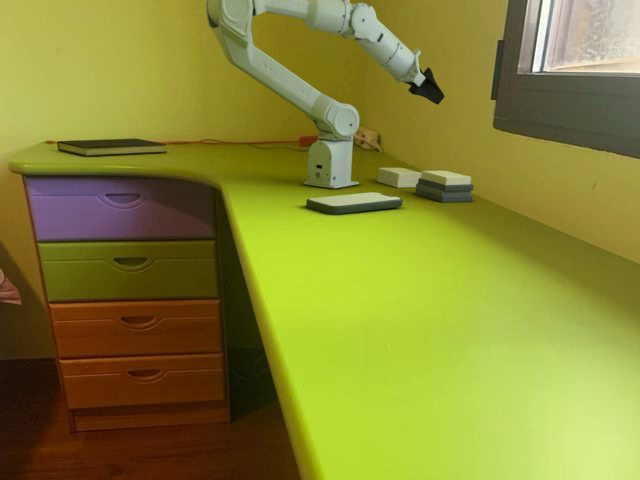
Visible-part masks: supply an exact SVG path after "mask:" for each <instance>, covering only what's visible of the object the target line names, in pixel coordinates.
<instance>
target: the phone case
mask: <svg viewBox="0 0 640 480" xmlns="http://www.w3.org/2000/svg"><path fill="white" fill-rule="evenodd" d="M403 201H404V200H403V198H401V197H397V196H394V195H389V194H385V193H380V192H374V191H373V192H362V193H360V192H359V193H351V194H342V195H340V194H339V195H333V196H332V195H331V196H321V197H312V198H308V199H306V201H305V206H306V208H308V209H312V210H315V211H317V212H318V211H319V212H321V213H325V214H328V215H341V214H351V213H359V212H367V211H375V210H385V209H396V208H402V206H403Z"/></svg>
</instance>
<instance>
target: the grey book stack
mask: <svg viewBox="0 0 640 480" xmlns="http://www.w3.org/2000/svg"><path fill="white" fill-rule="evenodd" d="M474 186H475V184H472V183H470V185H443V184H440V183H436V182H432V181H429V180H425V179H421V178H419V179H418V183H417V184H416V187H415V195H418V196H420V197H424V198H427V199H430V200H434V201H437V202H439V203H461V202H464V203H465V202H473V198H474V196H473V195H472V191H474Z"/></svg>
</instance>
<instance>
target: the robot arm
mask: <svg viewBox="0 0 640 480" xmlns="http://www.w3.org/2000/svg"><path fill="white" fill-rule="evenodd" d="M205 1H206V2H205V12H206V19H207V25H208V27H209V29H210V30H211V32H212V33H213V34H214V36H215V38H216V40H217V42H218V44H219V46H220V48H221V50H222V53H223V54H224V56H225V59H226V60H227V61H228V63H230V64H231V65H232V66H234V67H235V68H237V69H238V70H240V71H241V72H242V73H244V74H246V75H247V76H248V77H250V78H251V79H253V80H254V81H256V82H258V83H259V84H261V85H262V86H263V87H265V88H267V89H268V90H269V91H271V92H272V93H274V94H275V95H277V96H278V97H279V98H281V99H283V101H286V102H287V103H288V104H290V105H291V106H293V107H295V108H296V109H297V110H299V111H300V112H302V113H303V114H304V115H305V117H306V119H308V120H310V121H311V122H312V123H313V124H314V127H315V128H316V129H317V131H318V133H317V140H316V141H315V142H313V143H312V144H311V145H310V147H309V149H308V152H307V172H306V173H307V174H306V181H304V182H303V185H306V186H314V187H320V188H321V187H322V188H327V189H339V188H345V187H351V186H356V185H357V186H358V185H359V184H360V183H359V181H353V180H352V166H353V148H354V147H353V146H354V135H355V134H356V132H357V131H358V129H359V126H360V115H359V111H358V110H357V109H356V108H355V107H354V106H353V105H351V104H349V103H341V102H339V101H337V100H335V99H334V98H332V97H331V96H328V95H326V94H324V93H322V92H320V91H319V90H318V89H316V88H315V87H314V86H312V85H310V84H309V83H308V82H307V81H305V80H303V79H302V78H301V77H300V76H298V75H296V74H295V73H294V72H292V71H291V70H289V69H288V68H287V67H285V66H284V65H282V64H281V63H280V62H278V61H277V60H275V59H274V58H272V57H271V56H270V55H268V54H267V53H266V52H264V51H262V50H261V49H259V48H258V47H257V46H255V45H254V40H253V34H252V20H253V17H256V16H259V15H261V14H263V13H266V14H272V15H277V16H283V17H288V18H294V19H299V20H301V21H303V23H304V24H305V26H306V27H307V28H308V29H309V30H313V31H319V32H324V33H328V34H332V35H339V36H340V37H342V38H343V39H353V41H354V42H355V43H356V44H357V45H358V46H359V47H360V48H362V51H364V52H365V53H366V54H367V55H368V56H370V58H371V59H373V60H374V62H376V63H377V64H378V65H379V66H380V67H381V68H382V69H384V70H385V71H386V72H387V73H388V74H389V75H390V76H391V77H392V78H393V80H394V81H395V82H396V83H399V84H401V83H403V84H407V85H409V86H410V87H409V88H408V90H407V91H408V92H409V93H410V94H412V95H414V96H419V97H423V98H424V99H426V100H428V101H429V102H431V103H433V104H435V105H437V106H438V105H440V104H441V102H442V101H443V100H444V99H445V94H444V92H443V91H442V89H441V88H440V86H439V85H438V83H437V81H436V80H435V77H434V73H433V70H432V69H431V68H430V66H427V68H426V69H425V70H424V72H423V70H422V69H421V67H420V63H419V62H420V61H419V57H420V55H421V53H422V52H421V50H420V49H418V48H415V49H414V50H413V51H411V50H410V49H409V48H408V47H407V46H406V45H405V44H404V43H403V42H402V41H401V40H400V39H399V38H398V37H397V36H396V35H395V34H393V32H391V30H390V29H388V27H386V25H384V23H382V22H381V21H380V20H379V19H378V17H377V13H376V10H375V9H374V6H372V5H368V4H367V3H364V2H358V3H351V0H205Z"/></svg>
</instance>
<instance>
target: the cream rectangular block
mask: <svg viewBox="0 0 640 480" xmlns="http://www.w3.org/2000/svg"><path fill="white" fill-rule="evenodd" d="M421 173H422V172H419V171H417V170H416V171H415V170H412V169H408V168H404V167H378V168H377V175H376V181H377V182H378V183H380V184H383V185H388V186H391V187H393V188H397V189H399V188H400V189H401V188H416V184H417V183H418V179H419V178H421Z"/></svg>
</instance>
